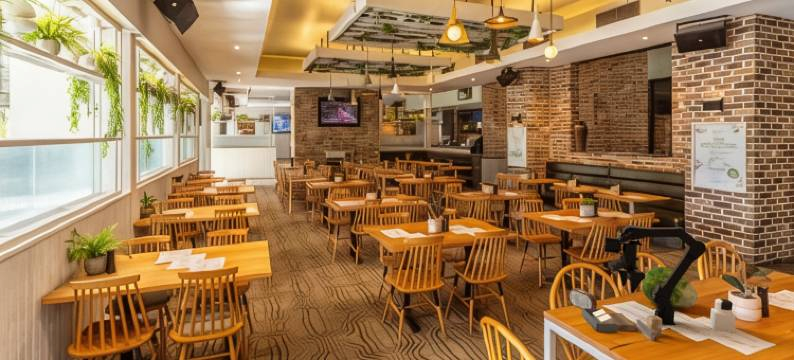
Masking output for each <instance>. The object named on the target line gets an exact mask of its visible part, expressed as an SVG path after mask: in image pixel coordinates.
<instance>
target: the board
mask: <svg viewBox="0 0 794 360" xmlns="http://www.w3.org/2000/svg"><path fill="white" fill-rule="evenodd" d="M606 314H608V315H609V316H610V317H611V318H612V320H613V322H614V323H616V324H617V331H622V332H636V329H637V328H636V324H635V323H633V322H632V321H631V320H630V319H629V317H626V316H625V314H623V313H622V312H606Z"/></svg>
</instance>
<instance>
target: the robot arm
mask: <svg viewBox="0 0 794 360" xmlns="http://www.w3.org/2000/svg"><path fill="white" fill-rule="evenodd" d="M646 238H678V239H680V240H681V241H682V242H683V243H684V244H685V245H686V246H685V248H684V251H683V255H682V257H681V258H680V259H679V261H678V262H677V264H676V265H675V267H674V268H672V269H673V271H672V272H671V274H670V275H669V277H668V278H667V279H666V281H665V282H664V283H663V284H661V285H659V284H658V283H657V285H656V287H655V289H653V290H652V291H653V294H652V296H653V299H654V302H655V303H654V302H653V303H654V304H656V305H657V306H656V307H655V310H654V316H658V317H659V318H661V319H662V325H667V326H668V325H670V326H674V325H675V326H676V324H677V323H676V322H675V309H676V308H675V307H674V305H673V303H672V301H671V300H670V299H671V296H672V293H673V290H674V288H675V287H676V285H677V284H678V282H679V281H680V279H681V278H682V277H683V276H684V275H685V274H686V273H687V271H688V269H689V268H690V266H692V264H693V263H694V262H696V261H697V260H698V259H699V258H701V256H703V255H704V254H705V252H706V251H707V246H706V244H705V243H704V241H702V240H701V239H699V238H695V237H693V236H692V235H690V234H689V233H688V232H687V231H686V230H685V229H684V228H683V227H681V226H676V227H645V226H639V225H633V224H628V225H626V226H625V227H624V228H623V232H622V233H621V234H620V235H619V236H618V237H609V236H605V239H604V240H605V241H604V250H603V251H604V253H609V254H619V253H620V252H622V254H620V256H619V258H617V259H615V260H611V261H608V262H607V264H608V268H609V270H610V271H612V272H613V273H614V272H617V274H619V278H620V282H621V287H626V285H627V283H628V280H629V286H630V287H629V288H630V293H631V294H632V293H633V294H634V293H635V292H636V290H637V288H638V287H639V285H640V284H642V281H643V279H645V274H646V273H644V271H642V270H639V267H638V266H637V263H638V261H639V259H640V258H639V257H638V246H641V247H642V246H643V243H642V242H641V240H642V239H646Z"/></svg>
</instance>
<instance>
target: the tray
mask: <svg viewBox="0 0 794 360" xmlns="http://www.w3.org/2000/svg"><path fill="white" fill-rule="evenodd" d="M601 309H602V308H598V307H596V308H582V309H581V316H582V318H583V319H584V320H585V321H586V322H587V323H588V324H589V326H591V328H592V329H594V331H595V332H596V333H598V332H599V333H617V324H616V323H599V322H598V321H597V320H596V319H595V318H594V315H593V312H596V311H598V310H601Z"/></svg>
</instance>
